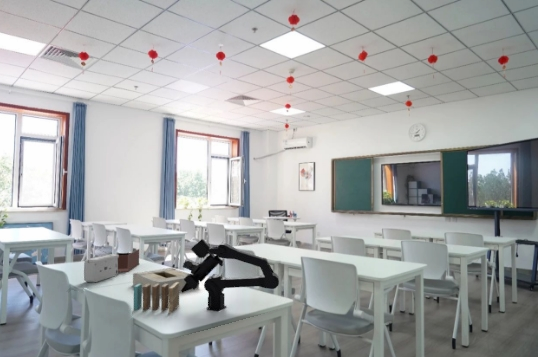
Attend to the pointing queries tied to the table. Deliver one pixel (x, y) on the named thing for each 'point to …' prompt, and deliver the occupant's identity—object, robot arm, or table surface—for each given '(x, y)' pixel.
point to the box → (160, 278)
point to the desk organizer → (128, 261)
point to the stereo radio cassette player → (100, 267)
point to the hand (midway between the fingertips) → (181, 291)
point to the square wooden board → (173, 297)
